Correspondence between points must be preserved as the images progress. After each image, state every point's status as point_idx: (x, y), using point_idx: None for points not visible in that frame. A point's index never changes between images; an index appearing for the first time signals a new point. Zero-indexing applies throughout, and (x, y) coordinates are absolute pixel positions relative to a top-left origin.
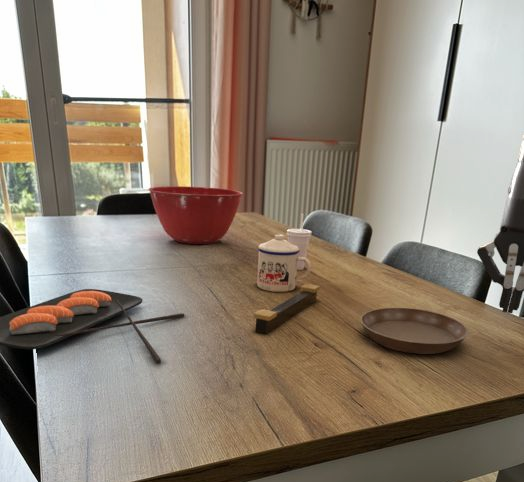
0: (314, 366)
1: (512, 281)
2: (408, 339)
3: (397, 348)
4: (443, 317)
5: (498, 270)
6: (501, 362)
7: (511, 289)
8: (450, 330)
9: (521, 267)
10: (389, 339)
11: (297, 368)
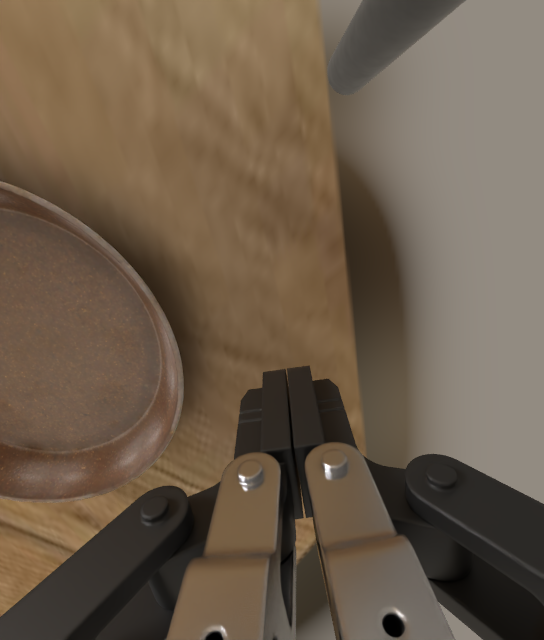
0: (17, 586)
1: (294, 579)
2: (39, 379)
3: (66, 458)
4: (5, 191)
5: (146, 579)
6: (304, 337)
7: (294, 509)
8: (88, 238)
9: (339, 636)
10: (37, 493)
11: (7, 604)
